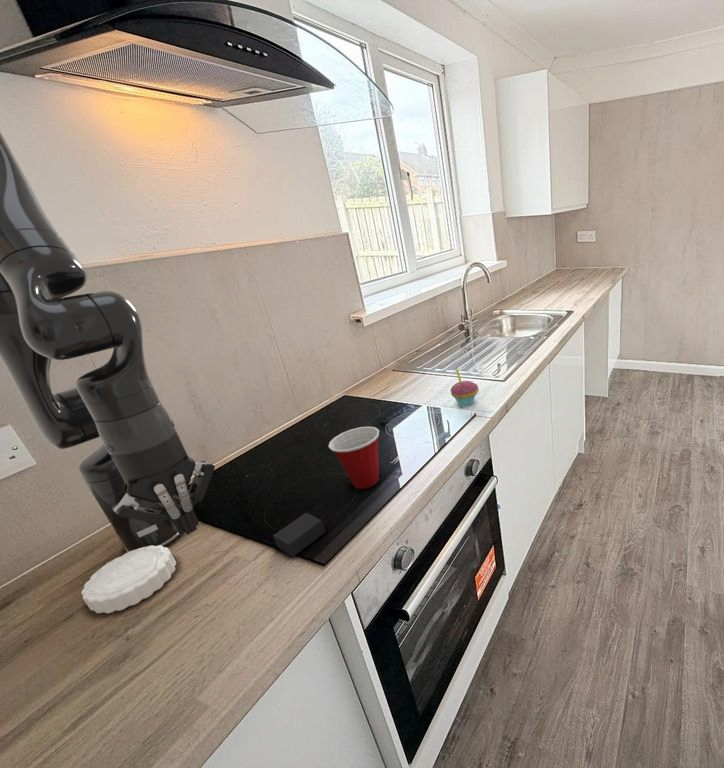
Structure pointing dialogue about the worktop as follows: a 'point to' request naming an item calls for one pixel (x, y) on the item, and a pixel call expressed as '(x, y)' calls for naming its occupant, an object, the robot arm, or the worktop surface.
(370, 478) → the plastic cup
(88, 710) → the worktop surface
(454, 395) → the cupcake
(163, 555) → the mooncake
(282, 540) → the eraser
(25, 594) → the worktop surface
